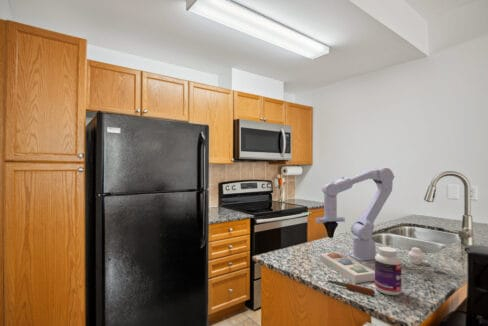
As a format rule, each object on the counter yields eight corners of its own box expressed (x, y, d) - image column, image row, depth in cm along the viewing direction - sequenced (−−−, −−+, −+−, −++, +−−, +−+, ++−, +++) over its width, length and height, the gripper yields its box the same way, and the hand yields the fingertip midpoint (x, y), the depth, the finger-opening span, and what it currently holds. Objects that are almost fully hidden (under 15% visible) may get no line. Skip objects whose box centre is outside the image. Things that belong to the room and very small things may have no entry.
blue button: (347, 264, 110) (347, 258, 110) (353, 268, 106) (353, 262, 106) (338, 265, 109) (338, 259, 109) (344, 269, 105) (344, 263, 105)
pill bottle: (401, 299, 83) (401, 254, 83) (373, 292, 87) (373, 250, 88) (401, 289, 90) (401, 248, 90) (376, 283, 94) (375, 244, 95)
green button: (359, 271, 103) (359, 265, 103) (367, 275, 98) (367, 269, 98) (350, 272, 101) (350, 266, 101) (358, 277, 97) (358, 270, 97)
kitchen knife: (374, 295, 86) (374, 289, 86) (374, 296, 85) (374, 290, 85) (327, 283, 95) (327, 277, 95) (326, 284, 94) (326, 279, 94)
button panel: (338, 258, 120) (338, 252, 120) (377, 280, 97) (377, 272, 97) (319, 260, 118) (319, 254, 118) (355, 283, 95) (355, 275, 95)
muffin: (406, 262, 115) (406, 247, 115) (409, 259, 119) (409, 244, 119) (423, 266, 110) (422, 250, 110) (425, 263, 115) (425, 247, 115)
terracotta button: (335, 257, 118) (335, 252, 118) (341, 261, 114) (341, 255, 114) (327, 258, 117) (327, 253, 117) (333, 262, 113) (333, 256, 113)
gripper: (338, 206, 128) (338, 234, 127) (312, 208, 124) (312, 236, 124) (347, 209, 121) (347, 238, 121) (320, 210, 117) (320, 240, 117)
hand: (330, 237), depth 122 cm, fingers closed
